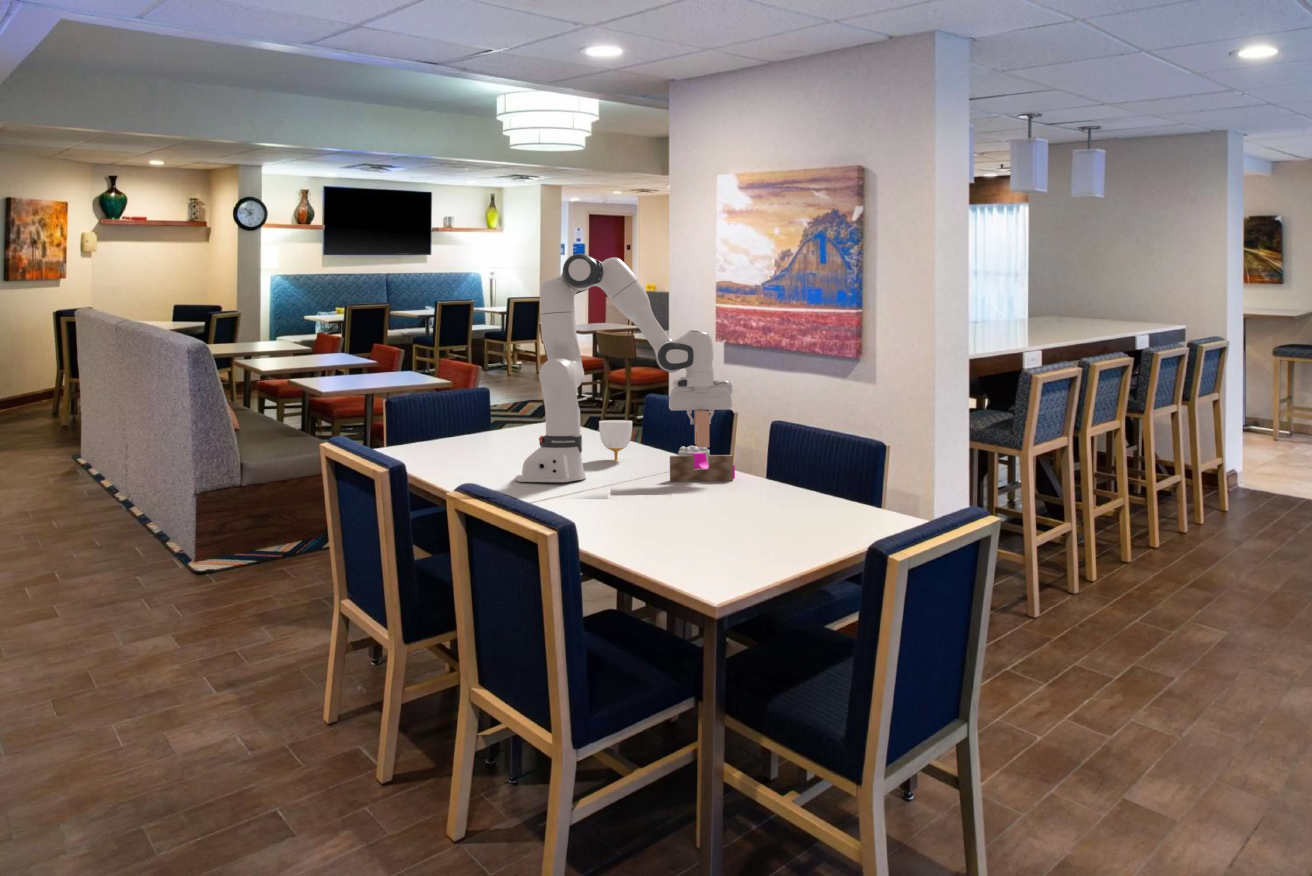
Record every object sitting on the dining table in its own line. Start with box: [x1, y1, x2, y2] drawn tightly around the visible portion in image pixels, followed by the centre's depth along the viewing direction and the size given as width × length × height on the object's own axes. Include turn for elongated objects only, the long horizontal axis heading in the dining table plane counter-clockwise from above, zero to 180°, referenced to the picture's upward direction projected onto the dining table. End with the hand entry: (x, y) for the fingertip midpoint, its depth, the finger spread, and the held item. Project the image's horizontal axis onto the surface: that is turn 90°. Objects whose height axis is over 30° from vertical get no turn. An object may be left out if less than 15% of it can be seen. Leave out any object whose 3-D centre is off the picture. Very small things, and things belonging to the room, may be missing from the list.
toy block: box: [692, 453, 736, 480], centre depth 320 cm, size 15×6×8 cm, turn 33°
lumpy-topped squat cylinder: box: [677, 445, 711, 462], centre depth 335 cm, size 10×13×9 cm
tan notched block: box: [694, 410, 710, 448], centre depth 309 cm, size 4×12×11 cm, turn 3°
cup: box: [598, 419, 633, 461], centre depth 341 cm, size 12×12×17 cm
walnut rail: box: [669, 454, 734, 482], centre depth 310 cm, size 20×2×8 cm, turn 93°
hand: (700, 424), depth 313 cm, fingers closed on tan notched block, 3 cm apart
